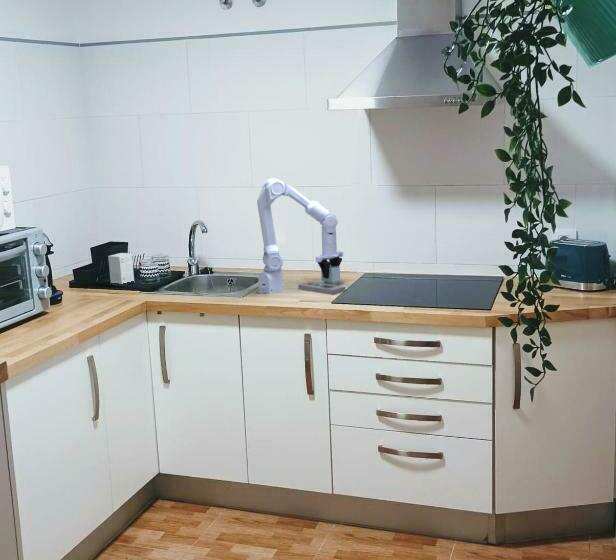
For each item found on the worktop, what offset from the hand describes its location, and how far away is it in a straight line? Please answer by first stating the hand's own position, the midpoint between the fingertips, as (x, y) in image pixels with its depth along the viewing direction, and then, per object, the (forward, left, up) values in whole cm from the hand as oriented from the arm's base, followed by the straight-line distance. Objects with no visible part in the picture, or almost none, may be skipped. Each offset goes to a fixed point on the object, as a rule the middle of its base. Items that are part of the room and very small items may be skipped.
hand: (330, 277), depth 320 cm
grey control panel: (-9, -3, -4) cm, 10 cm away
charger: (0, 0, -3) cm, 3 cm away
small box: (-44, +78, -4) cm, 90 cm away
